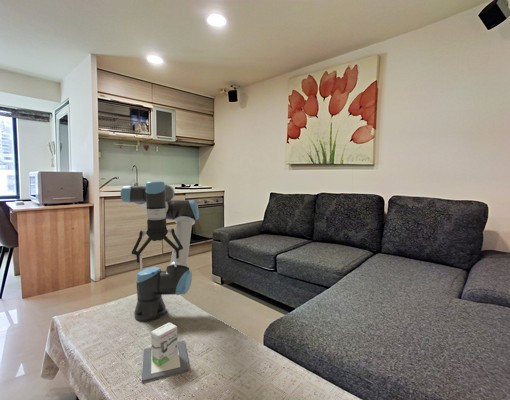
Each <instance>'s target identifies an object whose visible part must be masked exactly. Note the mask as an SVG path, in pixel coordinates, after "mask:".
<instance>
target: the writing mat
mask: <svg viewBox="0 0 510 400" xmlns="http://www.w3.org/2000/svg"><path fill="white" fill-rule="evenodd" d="M141 370H142V371H141V383H145V382H150V381H154V380H157V379H161V378H166V377H171V376H173V375H178V374H182V373H185V372H190V364H189V359H188V353H187V348H186V342H185V340H180V341H178V354H177V355H176V356H174V357H173V358H171V359H170V360H168V361H167V362H165V363H164V364H162V365H160V366H159V365H157V364H156V363H154V362H153V361H152V346H151V347H147V348H143V358H142V369H141Z"/></svg>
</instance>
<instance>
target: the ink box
mask: <svg viewBox="0 0 510 400" xmlns="http://www.w3.org/2000/svg"><path fill="white" fill-rule="evenodd" d="M150 339H151V341H150V342H151V347H152V361H153V362H154V363H156V364H157V365H159V366H160V365H162V364H164V363H165V362H167V361H168V360H170V359H171V358H173V357H174V356H176V355H177V354H178V342H179V341H178V326H177V325H175V324H173V323H172V322H167V323H165V324H163V325H161V326H159V327H157V328H155V329H154V330H152V331H150Z"/></svg>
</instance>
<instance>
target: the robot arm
mask: <svg viewBox="0 0 510 400" xmlns="http://www.w3.org/2000/svg"><path fill="white" fill-rule="evenodd" d="M175 195H176V194H175V189H174V188H173V187H172V186H171V185H168V184H166V183H165V182H164V181H161V180H160V181H157V180H156V181H146V183H145V185H124V186H122V188H121V189H120V199H121V201H122V202H124V203H129V204H131V203H134V204H137V205H139V206H140V207H142V208H145V210H146V218H147V221H146V222H147V224H146V226H147V230H146V231H145V230H139V234H138V238H137V240H136V242H135V244H134V246H133V247H132V248H133V249H132V250H131V255H135V256H136V263H137V264H139V272H137V274H136V278H135V279H136V280H135V283H136V297H137V298H136V301H137V302H136V305H135V307H134V312H133V314H134V317H133V318H134V319H135V320H137V321H140V322H150V321H153V320H157V319H159V318H161V317H163V316H164V315H165V314H166V312H167V309H166V303H165V302H164V298H163V296H164V295H165V296H166V295H168V296H172V295H174V296H175V295H176V296H179V295H185V294H188V292H189V290H190V288H191V286H192V281H193V280H192V279H193V273H192V271H191V270H190V267H189V266H188V261H189V260H188V259H189V251H190V243H191V237H192V228H193V225H195V223H196V221H197V220H199V218H200V210H199V205H198V202H197V201H196V200H195V199H192V200H191V199H185V200H184V199H182V200H177V199H175V200H173V198H174V197H175ZM167 220H170V221H174V222H175V224H176V226H175V229H174V227H172V228H171V229H170V228H169V229H167V227H168V226H167ZM168 233H169V234H170V235H172V237H173V241H172V240H171V239H170V238H168V236H167V234H168ZM145 235H147V237H148V238H147V239H146V241H144V243H143V244H142V245H141V247H140V248H139V245H140V243H141V241H142V239H143V237H145ZM163 240H164V241H165V242H166V243H167V244H168V245H169V246H170V247H171V249H172V252H171V257H170V263H169V264H168V265H167V266H166V269H165V270H162V269H161V267H158V266H152V267H146V268H145V269H143V254H142V252H143V251H144V250H145V249H146V248H147V246H148V245H149V244H150V243H151V242H157V241H163ZM138 248H139V249H138ZM137 249H138V250H137Z"/></svg>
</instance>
